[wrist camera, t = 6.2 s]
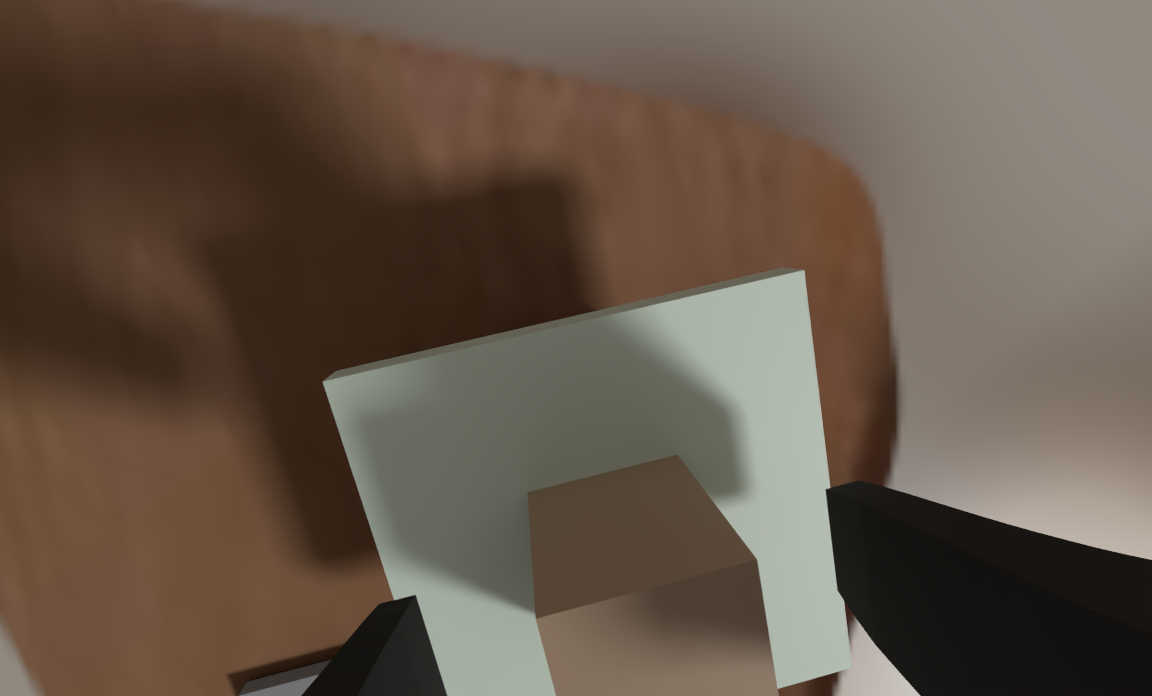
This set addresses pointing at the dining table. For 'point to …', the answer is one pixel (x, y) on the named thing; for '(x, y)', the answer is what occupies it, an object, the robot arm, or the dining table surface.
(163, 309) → the dining table surface
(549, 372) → the sage lid
